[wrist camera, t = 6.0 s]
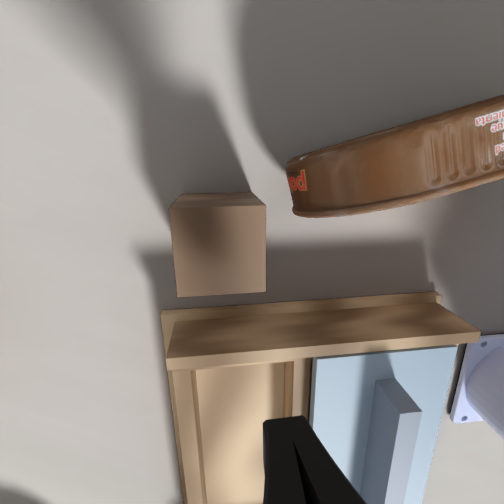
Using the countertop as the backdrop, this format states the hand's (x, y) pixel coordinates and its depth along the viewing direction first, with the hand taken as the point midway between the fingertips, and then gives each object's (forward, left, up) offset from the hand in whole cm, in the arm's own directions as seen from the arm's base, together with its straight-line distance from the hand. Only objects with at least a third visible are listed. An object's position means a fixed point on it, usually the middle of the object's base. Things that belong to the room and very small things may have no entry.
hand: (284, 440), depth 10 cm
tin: (-9, -9, -10) cm, 16 cm away
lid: (-7, +12, -7) cm, 15 cm away
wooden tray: (-4, +12, -10) cm, 16 cm away
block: (+2, -5, -10) cm, 11 cm away
